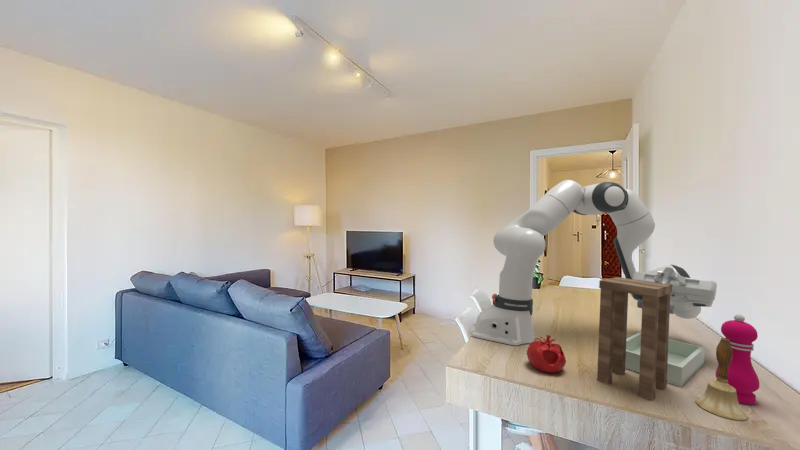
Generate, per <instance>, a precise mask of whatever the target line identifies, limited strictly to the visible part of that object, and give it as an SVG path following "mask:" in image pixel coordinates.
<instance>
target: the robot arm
mask: <svg viewBox="0 0 800 450" xmlns="http://www.w3.org/2000/svg"><path fill="white" fill-rule="evenodd" d="M572 213H575V214H576V215H581V216H589V215H591V216H592V215H593V216H598V215H603V214H607V215H609V216H610V218H611V220H612V222H613V224H614V225H615V228H616V231H617V232H616V233H617V234H616V237H615V238H614V239H613V244H614V248H615V251H616V255H617V259H618V262H619V264H620V266H621V270H622V273H623V275H624V278H628V279H635V280H642V281H649V282H657V283H659V282H660V279H661V277H662V275H663V272H664V270H665V268H667V267H670V268H672V269H674V271H675V272H674V273H672V275H671V278H672V280H671V282H670V284H671V285H672V293H670V305H674V307H675V311H674V314H673V315H675V316H676V317H679V318H680V319H685V320H687V319H688V320H690V319H694V318H697V317H698V316H699V315H700V314H701V311H702V307H705V308H710V307H712V305H713V303H714V301H715V299H716V295H717V288H718V287H717V286H718V285H717V282H716V281H714V280H710V279H701V278H695V277H694V278H693V277H690V274H689V273H688V272H687V271H686V270H685V269H684V268H682V267H681V266H678V265H676V264H668V265H664V266H661V267H658V268H656V269H653V270H649V271H646V272H642V271H641V272H640V271H637V270H636V267H635V265H634V262H633V258H632V255H633V253H634V251H635V250H636V249H637V248H638V247H639V246H640V245H642V244H644V242H646V241H647V240H648V239H649V238H650V237H651V236H652V235H653V232H654V230H655V227H656V223H655V220H654V218H653V216H652V214H651V211H649V209H648V207H647V206H646V204H645V203H644V202H643V201H642V199H641V198H640V197H639V196H638V195H637V194H636V193H635V191H633V190H632V189H628V188H624V187H623V186H622V185H621V184H620V183H616V182H614V181H613V182H612V181H603V182H599V183H593V184H587V185H585V186H581V184H580V183H579V182H577V181H575V180H572V179H565V180H562V181H560V182H559V183H557V184H556V185H554V186H553V187H552V188H551V189H549V190H547V192H545V194H544V195H542V196H541V197H540V198H539V199H538V200H537V201H536V202H535V203H534V204H533V205H532V206H531V207H530V208H529V209H528V210H526V211H525V212H523V213H522V214H521V215H519V216H518V217H516V218H515V219H513V220H512V221H511V222H509V223H508V224H507V225H505V227H503V228H501V229H500V230H498V231H497V232H495V234H494V236H493V245H494V248H495V249H496V250H497V251H498V252H499V253H500V254H501V255H503V256H505V261H504V264H503V267H502V270H501V271H500V273H499V280H498V281H499V282H498V283H499V284H498V286H499V287H498V288H499V289H498V294H497V293H493V294H492V295H491V298H492V305H490V306H488V307H487V308H485V309H483V310H481V312H480V313H478V315H477V317H476V321H475V323H473V324H472V325H470V327H469V335H470V336H471V337H473V338H477V339H482V340H487V341H491V342H496V343H500V344H506V345H510V346H520V345H524V344H525V345H526V344H530V343H531V342H535V341H536V336H535V333H534V328H533V327H534V326H533V312H534V298H532V295H533V278H534V273H535V270H536V266H537V264H538V261H539V258H540V257H541V256H542V255H543V254H544V252H545V251H546V240H545V238H544V236H546V235H548V234H550V233H552V232H553V231H554V230H555V229H556V228H557V227H559V226H560V225H561V224H562V223H563V222H564V221H565V220H566V219H567V218H568V217H569V216H570V215H571V214H572ZM629 295H630V296H631V297H632V298H633V300H636V301H638V300H643V295H637V294H631V293H629Z"/></svg>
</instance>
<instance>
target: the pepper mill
mask: <svg viewBox="0 0 800 450" xmlns="http://www.w3.org/2000/svg"><path fill="white" fill-rule="evenodd" d="M733 319H734V320H733ZM733 319H731V320H726V321H724V322H723V323H722V324H721V327H720V332H721V334H722V335H723V336H724V338H726V339H729V341H730V345H731V347H732V350H733V357H732V361H731V363H730V365H729V367H728V384H729V385H730V386H732V387H734V388H735V389H736V393H737V399H738V403H739V404H744V405H751V406H752V405H755V404H756V403H757V396H756V394H755V393H754V392H756V391H758V390H759V389H760V386H761V385H760V380H759V377H758V376H759V375H757V373H756V370H755V369H754V366H753V364H752V358H751V357H752V352H753V351H754V350H755V349H754V348H755V345H754V343H753V342H755V341H756V340H758V331H757V329H756V328H755V327H754V326H753V325H752V324H750V323H748V322H745V320H746V319H745V317H744V316H743V315H742V314H735V315H734V316H733ZM718 367H719V365H717V367H716V370H715V377H716V379H717V375H718Z"/></svg>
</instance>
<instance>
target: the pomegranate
mask: <svg viewBox="0 0 800 450" xmlns="http://www.w3.org/2000/svg"><path fill="white" fill-rule="evenodd" d="M539 337H540V338H539ZM539 337H535V341H534V342H531V343H529V345H528V347H527V350H526V358H527V359H528V361H529V363H530V364H531V365H532V366H533V368H535V369H537V370H538V371H540V372H543V373H547V374H555V373H559V372H561V371H562V370H563V369H564V367H565V366H566V362H567V360H566V356H565V353H564V351H563V349H562V348H563V347H562V346H561V345H560V344H558V343H553V342H555V341H556V339H553V338H552V339H551V337H552V336H551V334H546V339H545V338H544V337H542V336H539ZM536 340H537V341H536Z"/></svg>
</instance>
